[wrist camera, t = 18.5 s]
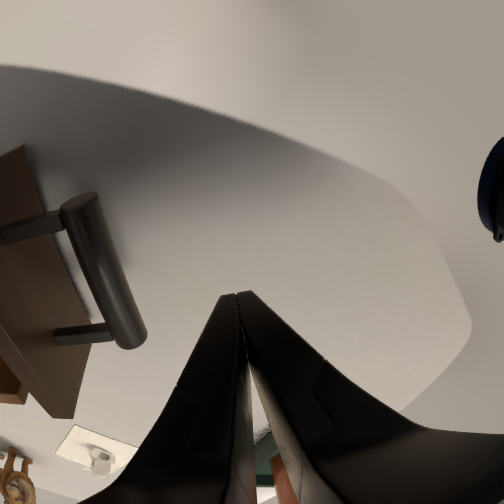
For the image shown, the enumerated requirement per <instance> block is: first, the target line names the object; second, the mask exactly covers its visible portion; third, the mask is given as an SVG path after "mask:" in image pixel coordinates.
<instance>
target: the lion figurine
mask: <svg viewBox="0 0 504 504" xmlns="http://www.w3.org/2000/svg"><path fill="white" fill-rule="evenodd" d="M17 453H18V451H17V450H16V449H14V448H12V447H10V448H9V451H8V458H7V461H6V463H5V466H4V469H2V468H0V492H1V493H2V495H3V496H4V499H5V501H4V504H36V502H35V500H36V496H35V488H34V485H33V483H32V482H31V479H30V478H29V477H28V464H32V463H33V461H32V460H31V459H29V458H24V460H23V462H22V469H21V472H19V471H14V469H13V463H14V460H15V457H16V454H17ZM0 459H2V460H3V459H4V456H2V455H1V454H0Z"/></svg>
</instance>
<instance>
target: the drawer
mask: <svg viewBox="0 0 504 504" xmlns="http://www.w3.org/2000/svg"><path fill="white" fill-rule="evenodd" d="M65 228H66V231H67V233H68V236H69V239H70V241H71V244H72V247H73V249H74V252H75V254H76V257H77V259H78V262H79V264H80V267H81V269H82V272H83V274H84V276H85V279H86V281H87V283H88V286H89V288H90V290H91V292H92V294H93V297H94V299H95V301H96V303H97V305H98V307H99V310H100V312H101V314H102V316H103V318H104V320H105V323H97V324H92V323H91V321H90V319H89V318H88V316H87V314H86V312H85V310H84V308H83V306H82V304H81V301H80V299H79V297H78V295H77V293H76V291H75V289H74V287H73V284H72V282H71V280H70V278H69V276H68V273H67V271H66V269H65V266H64V264H63V262H62V259H61V257H60V254H59V252H58V249H57V247H56V244H55V242H54V239H53V237H52V234H51V233H54V232H58V231H63V230H65ZM146 338H147V329H146V327H145V325H144V322H143V320H142V318H141V315H140V313H139V310H138V308H137V305H136V303H135V300H134V298H133V295H132V293H131V290H130V288H129V285H128V282H127V280H126V277H125V274H124V272H123V269H122V266H121V263H120V260H119V258H118V255H117V252H116V249H115V246H114V243H113V240H112V237H111V234H110V231H109V228H108V225H107V222H106V218H105V215H104V212H103V208H102V205H101V202H100V198H99V195H98V194H97V193H85V194H82V195H79V196H76V197H74V198H72V199H70V200H68V201H66V202H65V203H64V204H63V205H62V206H61V207H60V209H59V210H55V211H51V212H48V213H44V212H43V209H42V206H41V203H40V200H39V197H38V194H37V191H36V188H35V184H34V181H33V178H32V174H31V171H30V167H29V164H28V160H27V156H26V152H25V148H24V146H20V147H18V148H15V149H13V150H10V151H8V152H6V153H4V154H2V155H0V403H8V404H21V405H24V404H25V402H26V399H27V396H28V393H29V392H30V394H31V395H32V396H33V397H34V398H35V399H36V401H37V402H38V403H39V404H40V405H41V406H42V407H43V408H44V409H45V411H46V412H47V413H48V414H49V415H50V416H51V417H52V418H57V419H73V417H74V413H75V408H76V404H77V399H78V395H79V391H80V387H81V383H82V379H83V375H84V371H85V367H86V363H87V360H88V356H89V352H90V349H91V345H92V343H100V342H109V341H113V340H115V342H116V344H117V345H118V346H119V347H120V348H122V349H125V350H131V349H135V348H137V347H139V346H141V345H142V344H143V343H144V342H145V340H146Z"/></svg>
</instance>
